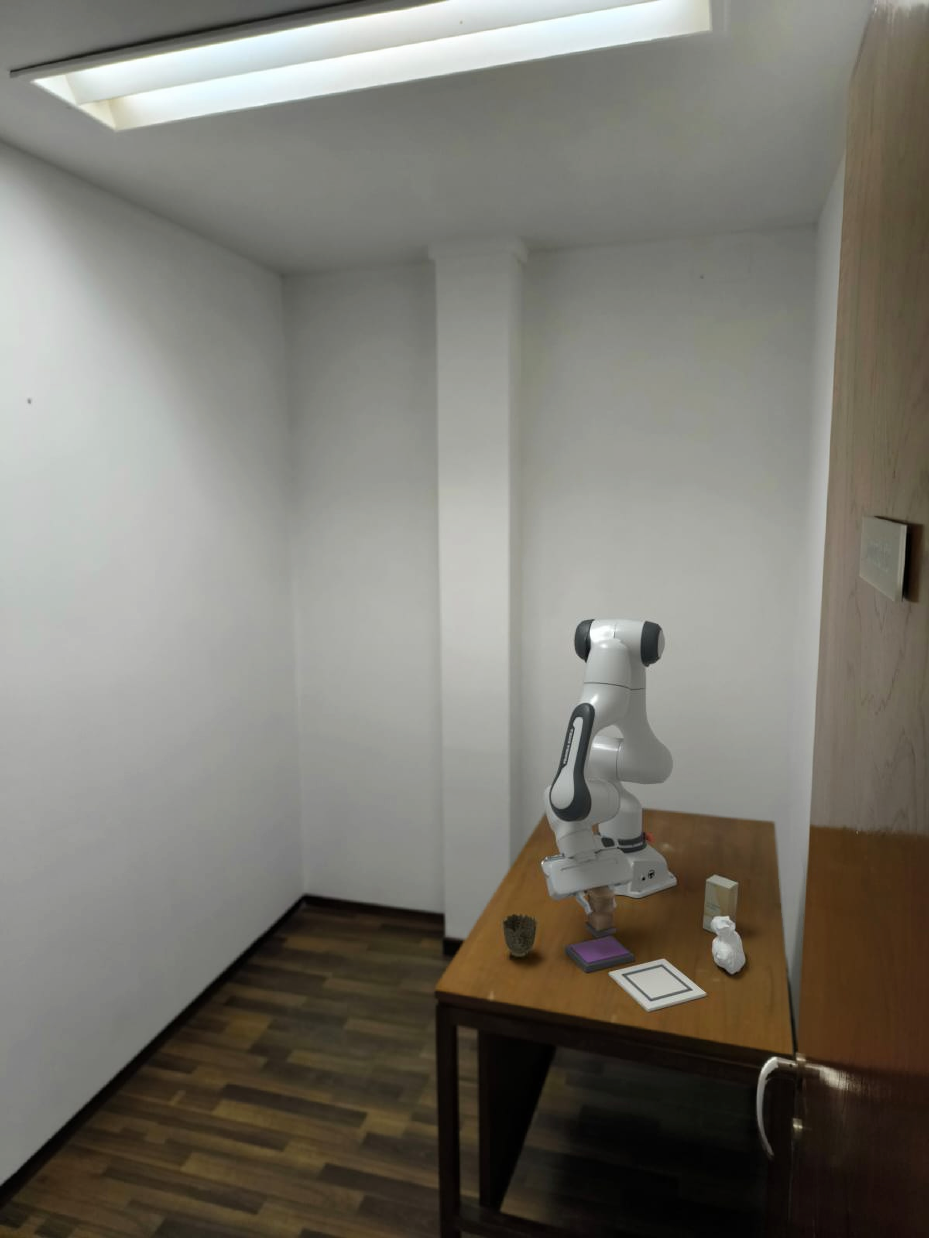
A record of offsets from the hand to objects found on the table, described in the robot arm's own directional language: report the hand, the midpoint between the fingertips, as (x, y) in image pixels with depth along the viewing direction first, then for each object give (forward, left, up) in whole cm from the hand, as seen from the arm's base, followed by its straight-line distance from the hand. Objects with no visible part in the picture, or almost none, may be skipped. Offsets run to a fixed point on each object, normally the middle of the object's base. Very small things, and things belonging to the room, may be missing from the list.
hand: (602, 910), depth 176 cm
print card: (-5, +14, -11) cm, 18 cm away
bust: (-24, +13, -11) cm, 29 cm away
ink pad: (0, 0, -11) cm, 11 cm away
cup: (+16, -7, -11) cm, 21 cm away
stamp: (0, -1, -5) cm, 5 cm away
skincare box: (-32, +1, -11) cm, 34 cm away
